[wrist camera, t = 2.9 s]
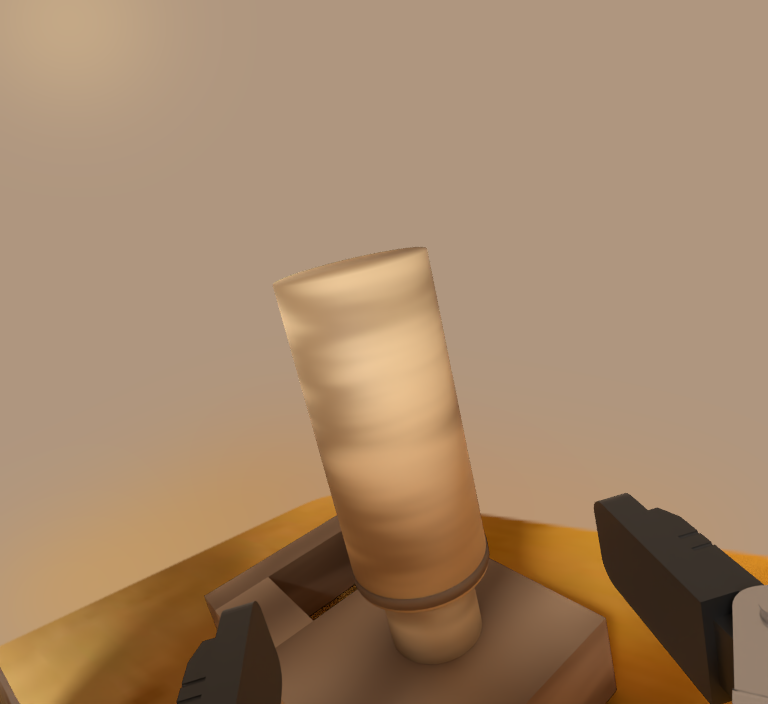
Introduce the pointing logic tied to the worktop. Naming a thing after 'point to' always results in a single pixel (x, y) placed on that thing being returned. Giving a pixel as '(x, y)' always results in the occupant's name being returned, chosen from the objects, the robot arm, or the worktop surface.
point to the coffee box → (6, 691)
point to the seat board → (394, 671)
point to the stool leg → (392, 443)
